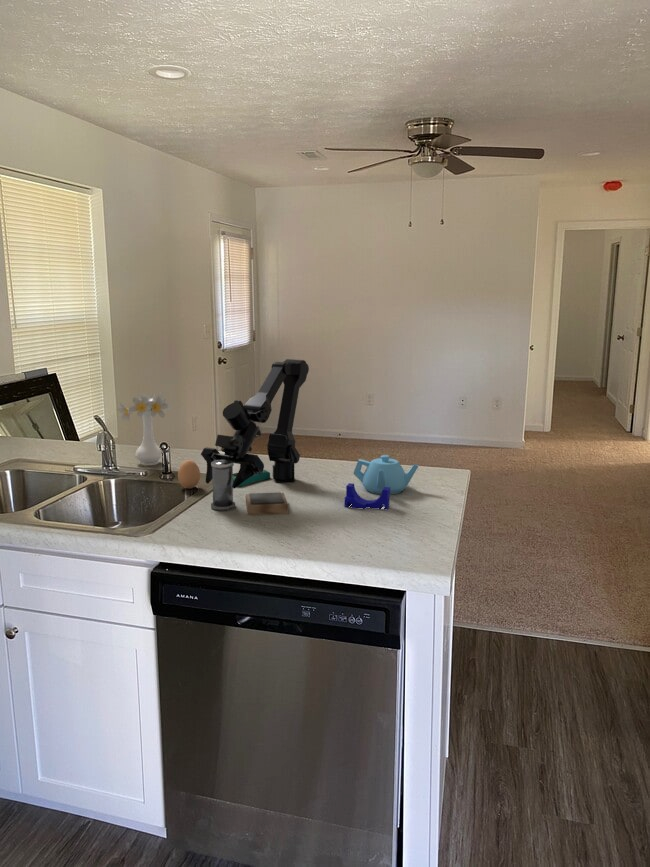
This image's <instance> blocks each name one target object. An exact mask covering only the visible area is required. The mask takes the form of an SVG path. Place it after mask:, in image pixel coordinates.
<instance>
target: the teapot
mask: <svg viewBox="0 0 650 867" xmlns="http://www.w3.org/2000/svg"><path fill="white" fill-rule="evenodd" d="M390 457H391V456H390V455H388V454H382V455H380V457H378V458H374V459H372V460H371V461H369V460H365V459H362V458H358V460H357V463H356V465H355V467H354V471H353V472H352V474H353V475H354V476H355V477H356V478H357V479H358V480H359V481H360V483H361V484H362V486H363V487H364V489H365V490H366V491H367V490H368V491H367V492H369V491H370V492H369V493H372V492H373V493H372V494H376V493H378V494H377V495H381V494H382V490H383V488H384V487H390V495H396V493H397V494H400V493H402V492H403V491H404V490H405V489H406V487H407V486H408V485H409V483H410V482H411V480H412V478H413V476H414V474H416V471H417V470H418V468H419V464H413V465H412V466H411V467H410V469H409V470H408V471H407V472H405V470H404V468H403V467H402V465H401V463H400V462H399V460H397V459H394V458H390ZM362 466H365V467H366V468H365V470H364V472H362V471H361V470H362V468H363V467H362ZM401 491H402V492H401Z"/></svg>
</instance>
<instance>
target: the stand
mask: <svg viewBox="0 0 650 867" xmlns="http://www.w3.org/2000/svg"><path fill="white" fill-rule="evenodd" d="M245 506H246V513H247V515H249V516H251V515H252V516H253V515H254V516H255V515H256V516H257V515H275V514H277V515H278V514H289V503H288V501H287V498H286V496H285V493H284V492H254V493H253V492H252V493H250V492H249V493H246V494H245Z"/></svg>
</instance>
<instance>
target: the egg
mask: <svg viewBox="0 0 650 867" xmlns="http://www.w3.org/2000/svg"><path fill="white" fill-rule="evenodd" d="M177 479H178V482H179V484H180V486H182V487H183V488H185V489H189V490H190V489H194V488H195V487H196V486H197V485H198V483H200V480H201V470H200V468H199V466H198V465H197V463H196V462H195V461H193V460H191V459H187V460H184V461H183V462H181V464H180V466H179V468H178V470H177Z"/></svg>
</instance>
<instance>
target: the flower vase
mask: <svg viewBox="0 0 650 867" xmlns="http://www.w3.org/2000/svg"><path fill="white" fill-rule="evenodd" d="M155 396H156V393H154V392H153V393H151V394H149V395H147V394H146V393H145V392H141V393H140V394H139V396H138V397H136V396H133V397H132V403H133V404H134V405H132V406H131V407H129V408H128V407H127V406H126V405H124V404H123V402H121V401H119V404H120V406H118V407H117V411H118V412H119V413H122V416H121V418H122V421H123V422H125V421H126V420H127V421H128V423H130V422H131V418H130V414H133V413H134V412H137V413H136V414H137V417H138V418H141V417H142V421H143V422H142V423H143V424H142V425H143V434H142V436H143V438H142V442H141V444H140V446H139V447H137V449H136V451H135V453H134V454H135V458H136V460H137V461H139V463H140V465H141V466H144V465H145V466H146V465H151V466H155V465H159V461H160V460H161V459H162V458H163V456H162V454H161V450H162V449H161V447H160V446H159V445H158V444H157V443H156V441H155V438H154V430H153V417H155V416H156V415H158V416H159V417H161V418H165V415H166V414H165V413H164V411H163V410H165V409H168V410H169V411H172V409H171V408H170V407H169V404H168V401H167V399H166V398H163V394H162V392H161V391H159V395H157V396H156V398H155ZM154 398H155V399H154ZM159 447H160V448H159ZM160 449H161V450H160ZM145 466H144V467H145ZM146 467H147V466H146Z"/></svg>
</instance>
